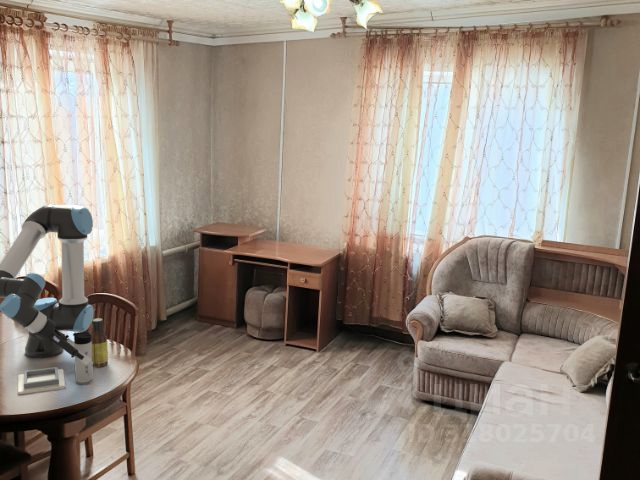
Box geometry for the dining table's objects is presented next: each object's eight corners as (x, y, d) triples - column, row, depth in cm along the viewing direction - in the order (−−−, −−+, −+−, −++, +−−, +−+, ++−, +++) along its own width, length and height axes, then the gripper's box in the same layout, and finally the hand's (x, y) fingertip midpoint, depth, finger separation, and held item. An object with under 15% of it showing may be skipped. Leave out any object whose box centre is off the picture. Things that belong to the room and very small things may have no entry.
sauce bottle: (111, 363, 251) (110, 318, 247) (101, 369, 246) (100, 323, 241) (98, 360, 253) (97, 316, 249) (88, 366, 248) (86, 320, 244)
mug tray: (18, 376, 235) (18, 369, 234) (62, 371, 242) (62, 364, 241) (18, 394, 221) (17, 387, 220) (65, 387, 228) (64, 380, 227)
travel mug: (77, 378, 236) (75, 330, 232) (94, 378, 237) (93, 330, 233) (72, 385, 230) (70, 336, 226) (90, 385, 231) (88, 336, 227)
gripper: (25, 323, 228) (68, 352, 240) (40, 344, 209) (86, 375, 220) (40, 307, 230) (81, 337, 242) (55, 327, 211) (100, 359, 222)
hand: (83, 355), depth 231 cm, fingers open, 13 cm apart
